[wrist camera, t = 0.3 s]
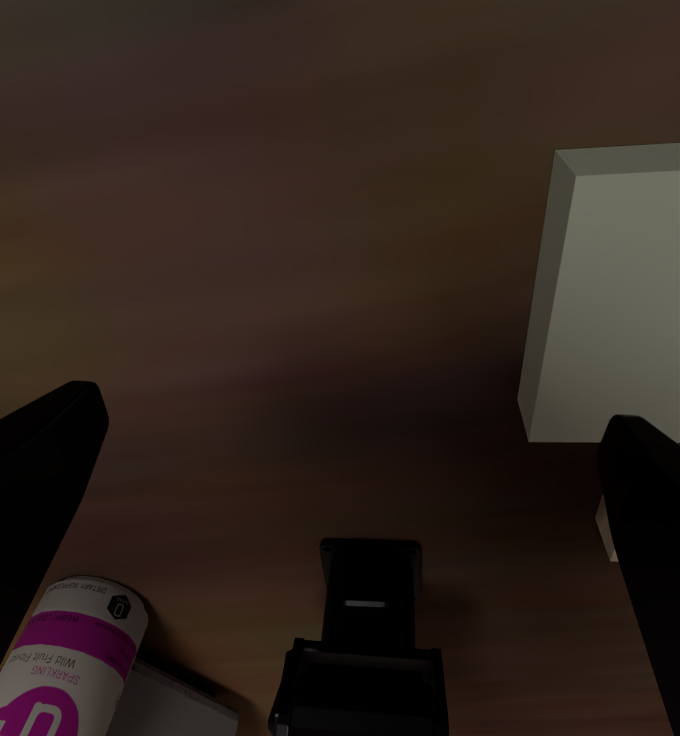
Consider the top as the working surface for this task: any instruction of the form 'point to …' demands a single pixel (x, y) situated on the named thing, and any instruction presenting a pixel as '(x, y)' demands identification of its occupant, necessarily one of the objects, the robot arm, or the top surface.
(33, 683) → the supplement can
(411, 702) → the robot arm
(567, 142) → the top surface
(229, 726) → the vintage electronic device
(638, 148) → the dock
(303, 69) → the top surface
